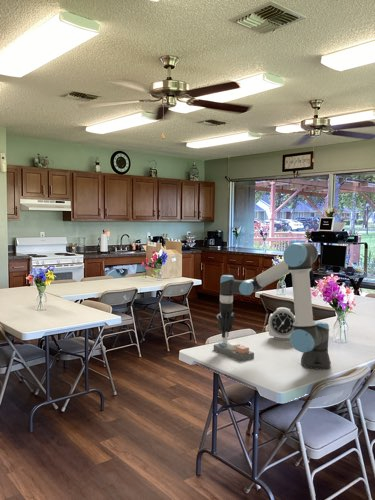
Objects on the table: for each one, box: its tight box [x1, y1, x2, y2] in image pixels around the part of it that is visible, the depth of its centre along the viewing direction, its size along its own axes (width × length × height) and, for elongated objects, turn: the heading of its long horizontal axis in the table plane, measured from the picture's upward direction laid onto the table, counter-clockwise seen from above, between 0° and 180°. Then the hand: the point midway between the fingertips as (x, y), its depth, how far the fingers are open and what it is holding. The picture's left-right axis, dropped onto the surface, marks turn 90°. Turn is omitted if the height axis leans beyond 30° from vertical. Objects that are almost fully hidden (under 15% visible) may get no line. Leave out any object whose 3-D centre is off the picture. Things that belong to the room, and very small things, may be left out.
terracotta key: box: [236, 344, 250, 354], centre depth 235 cm, size 5×5×3 cm
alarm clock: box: [267, 306, 295, 342], centre depth 275 cm, size 18×8×20 cm, turn 76°
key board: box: [213, 343, 255, 362], centre depth 242 cm, size 23×10×3 cm, turn 35°
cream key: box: [227, 341, 241, 351], centre depth 242 cm, size 5×5×3 cm
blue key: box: [218, 341, 229, 347], centre depth 248 cm, size 5×5×3 cm
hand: (224, 342), depth 248 cm, fingers closed
